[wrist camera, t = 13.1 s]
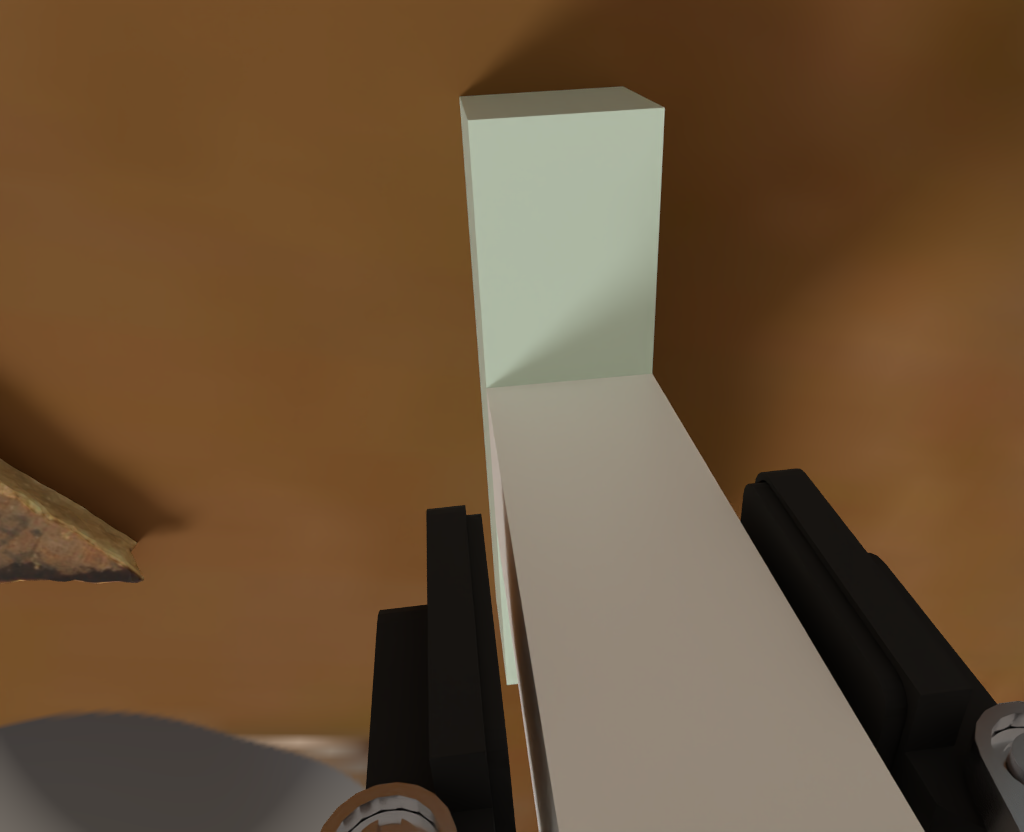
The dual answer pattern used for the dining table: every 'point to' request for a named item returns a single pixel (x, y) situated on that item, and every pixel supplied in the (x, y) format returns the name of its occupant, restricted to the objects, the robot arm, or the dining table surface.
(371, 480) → the dining table surface
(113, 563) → the shard
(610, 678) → the green white t block
